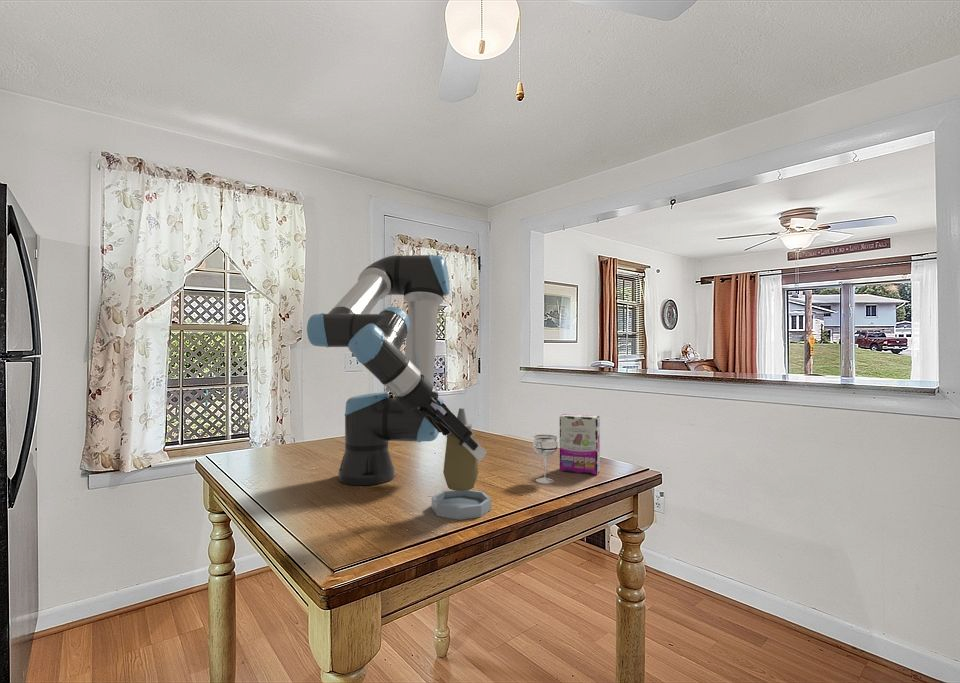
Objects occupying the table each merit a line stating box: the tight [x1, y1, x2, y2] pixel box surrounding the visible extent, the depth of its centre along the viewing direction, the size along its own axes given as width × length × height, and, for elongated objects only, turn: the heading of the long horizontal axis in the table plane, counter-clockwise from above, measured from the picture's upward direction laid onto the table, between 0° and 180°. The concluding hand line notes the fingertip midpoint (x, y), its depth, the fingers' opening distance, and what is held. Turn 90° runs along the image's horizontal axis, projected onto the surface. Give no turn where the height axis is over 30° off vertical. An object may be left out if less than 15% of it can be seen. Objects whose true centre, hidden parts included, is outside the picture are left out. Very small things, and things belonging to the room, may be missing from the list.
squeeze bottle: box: [442, 407, 479, 491], centre depth 112 cm, size 8×8×18 cm
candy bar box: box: [559, 413, 601, 475], centre depth 145 cm, size 11×5×16 cm, turn 68°
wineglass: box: [532, 434, 559, 484], centre depth 135 cm, size 7×7×12 cm
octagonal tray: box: [431, 489, 492, 521], centre depth 113 cm, size 13×13×2 cm
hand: (475, 453), depth 114 cm, fingers closed on squeeze bottle, 6 cm apart
